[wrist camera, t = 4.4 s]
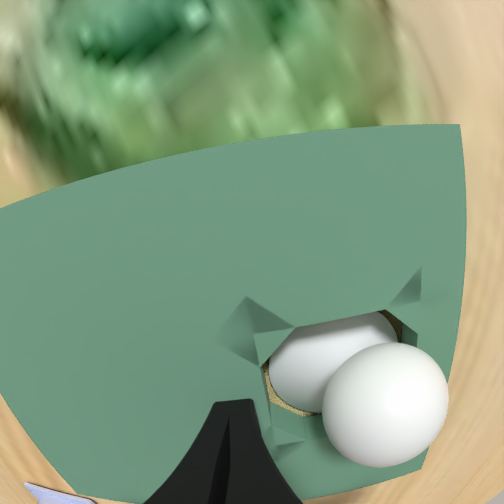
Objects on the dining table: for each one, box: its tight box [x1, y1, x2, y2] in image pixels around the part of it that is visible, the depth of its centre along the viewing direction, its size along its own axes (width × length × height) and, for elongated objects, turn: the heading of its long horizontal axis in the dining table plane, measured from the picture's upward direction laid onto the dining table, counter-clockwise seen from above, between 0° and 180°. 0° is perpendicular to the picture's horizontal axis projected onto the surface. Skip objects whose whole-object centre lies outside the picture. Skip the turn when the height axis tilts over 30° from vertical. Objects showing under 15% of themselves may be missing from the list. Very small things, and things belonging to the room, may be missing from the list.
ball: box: [322, 342, 449, 467], centre depth 9 cm, size 4×4×4 cm
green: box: [0, 124, 466, 504], centre depth 12 cm, size 18×22×2 cm
